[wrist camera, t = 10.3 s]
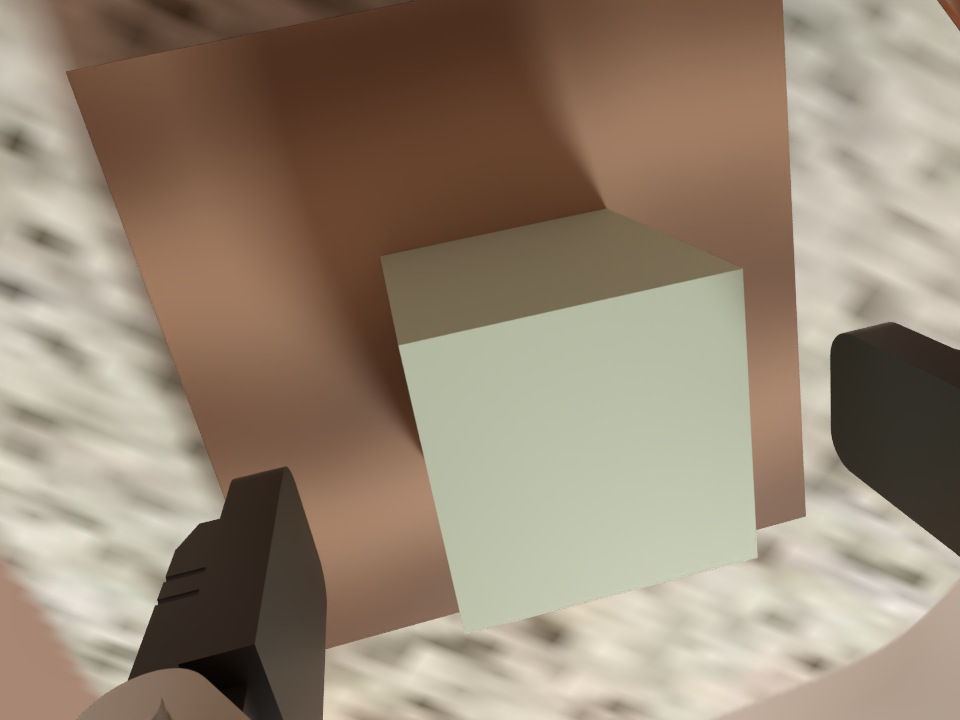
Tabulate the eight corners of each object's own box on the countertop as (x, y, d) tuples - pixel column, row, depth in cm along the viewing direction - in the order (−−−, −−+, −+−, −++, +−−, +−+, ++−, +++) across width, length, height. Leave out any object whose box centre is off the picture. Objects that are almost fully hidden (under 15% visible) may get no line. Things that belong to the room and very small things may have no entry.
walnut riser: (125, 76, 17) (65, 71, 14) (693, -40, 19) (779, -74, 15) (295, 566, 22) (285, 660, 19) (733, 449, 24) (805, 516, 20)
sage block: (380, 255, 16) (398, 346, 10) (607, 208, 16) (742, 268, 11) (427, 462, 18) (465, 634, 12) (630, 414, 18) (757, 557, 12)
